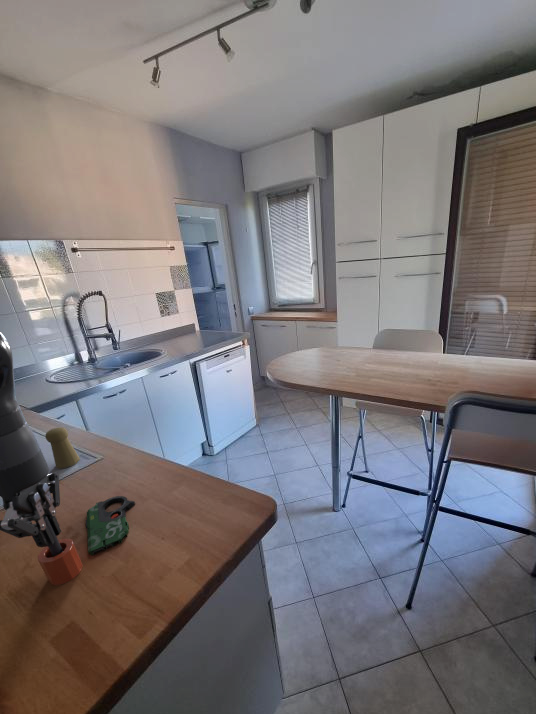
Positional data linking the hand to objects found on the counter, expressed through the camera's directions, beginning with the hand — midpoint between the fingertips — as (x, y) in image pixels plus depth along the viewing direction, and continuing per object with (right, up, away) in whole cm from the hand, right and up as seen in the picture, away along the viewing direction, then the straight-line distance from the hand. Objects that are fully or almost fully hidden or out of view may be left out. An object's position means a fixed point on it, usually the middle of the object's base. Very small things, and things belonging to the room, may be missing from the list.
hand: (50, 539), depth 58 cm
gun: (+3, -3, +15) cm, 15 cm away
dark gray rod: (+1, -7, +3) cm, 8 cm away
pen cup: (+1, -8, +3) cm, 8 cm away
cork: (-24, +6, +40) cm, 47 cm away
